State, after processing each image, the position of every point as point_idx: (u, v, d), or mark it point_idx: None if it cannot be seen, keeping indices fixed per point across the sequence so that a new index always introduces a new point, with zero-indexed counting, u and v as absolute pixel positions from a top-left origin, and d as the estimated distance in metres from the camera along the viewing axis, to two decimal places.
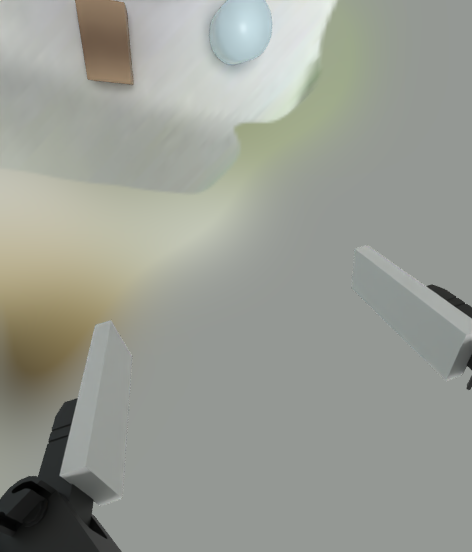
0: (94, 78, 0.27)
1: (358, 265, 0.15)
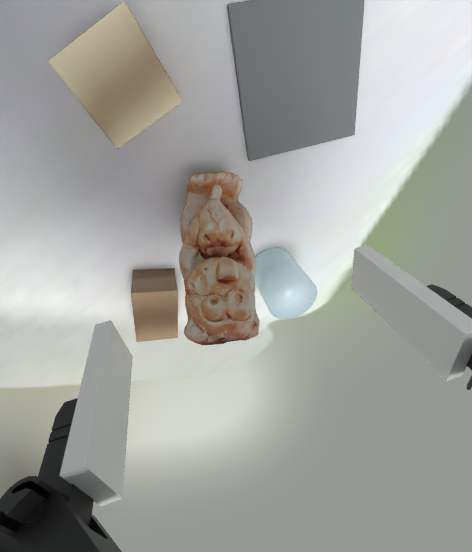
0: (143, 340, 0.28)
1: (358, 265, 0.15)
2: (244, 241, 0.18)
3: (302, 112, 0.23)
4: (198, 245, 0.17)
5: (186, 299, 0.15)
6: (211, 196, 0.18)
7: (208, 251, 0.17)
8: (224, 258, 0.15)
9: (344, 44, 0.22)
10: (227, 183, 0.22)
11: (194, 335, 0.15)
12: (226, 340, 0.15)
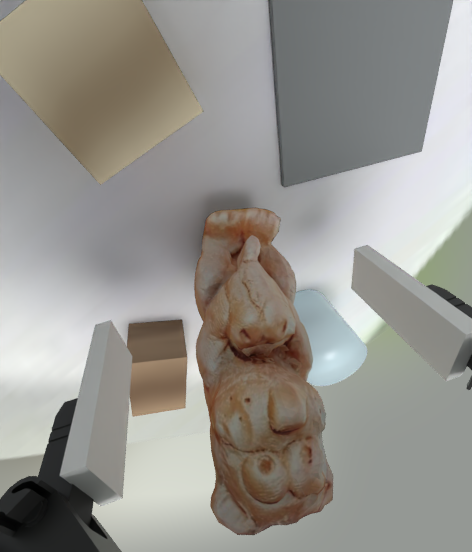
0: (141, 414, 0.22)
1: (358, 265, 0.15)
2: (298, 328, 0.11)
3: (359, 122, 0.17)
4: (228, 337, 0.11)
5: (213, 445, 0.09)
6: (246, 256, 0.12)
7: (244, 350, 0.11)
8: (280, 384, 0.09)
9: (425, 28, 0.15)
10: (260, 224, 0.15)
11: (230, 520, 0.09)
12: None
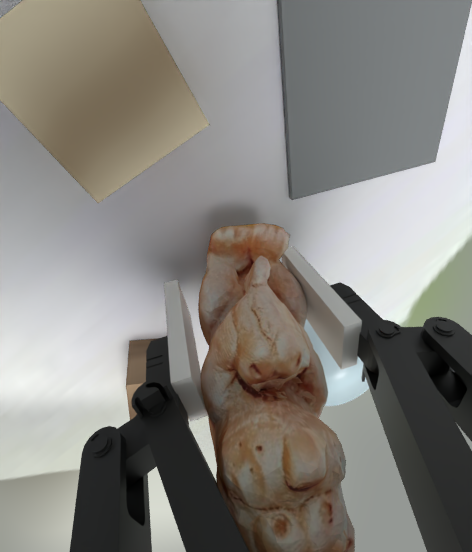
0: None
1: (284, 265, 0.16)
2: (312, 359, 0.10)
3: (370, 132, 0.16)
4: (235, 370, 0.10)
5: None
6: (255, 279, 0.11)
7: (253, 386, 0.10)
8: (296, 431, 0.08)
9: (441, 34, 0.14)
10: (268, 240, 0.14)
11: None
12: None
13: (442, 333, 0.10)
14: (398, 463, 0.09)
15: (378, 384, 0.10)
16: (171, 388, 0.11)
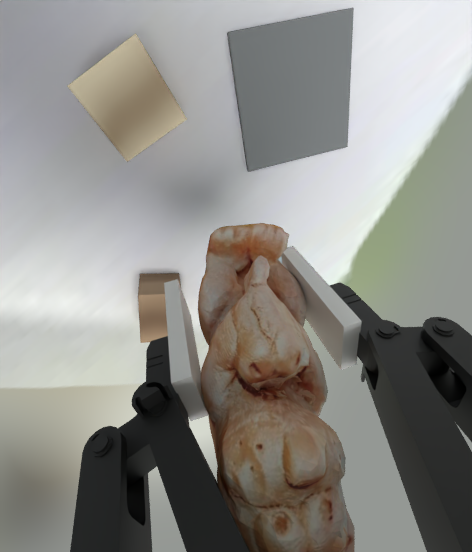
0: (146, 341, 0.29)
1: (284, 265, 0.16)
2: (312, 358, 0.10)
3: (297, 126, 0.25)
4: (235, 369, 0.10)
5: None
6: (254, 279, 0.11)
7: (254, 384, 0.10)
8: (296, 429, 0.08)
9: (335, 65, 0.23)
10: (267, 240, 0.14)
11: None
12: None
13: (442, 333, 0.10)
14: (398, 463, 0.09)
15: (378, 384, 0.10)
16: (171, 388, 0.11)
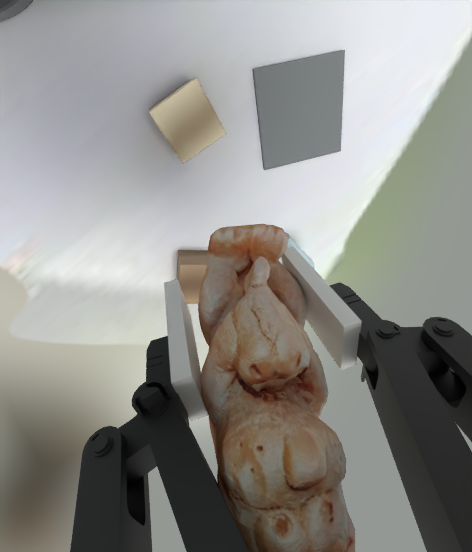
0: None
1: (284, 265, 0.16)
2: (312, 359, 0.10)
3: (302, 136, 0.33)
4: (236, 370, 0.10)
5: None
6: (255, 280, 0.11)
7: (254, 386, 0.10)
8: (297, 431, 0.08)
9: (331, 90, 0.31)
10: (267, 241, 0.14)
11: None
12: None
13: (442, 333, 0.10)
14: (398, 463, 0.09)
15: (378, 384, 0.10)
16: (171, 388, 0.11)
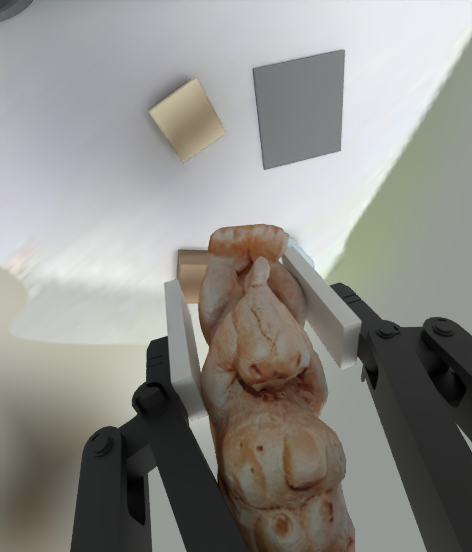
0: None
1: (284, 265, 0.16)
2: (312, 359, 0.10)
3: (302, 135, 0.33)
4: (236, 370, 0.10)
5: None
6: (255, 280, 0.11)
7: (254, 386, 0.10)
8: (297, 431, 0.08)
9: (331, 90, 0.31)
10: (267, 241, 0.14)
11: None
12: None
13: (442, 333, 0.10)
14: (398, 463, 0.09)
15: (378, 384, 0.10)
16: (171, 388, 0.11)
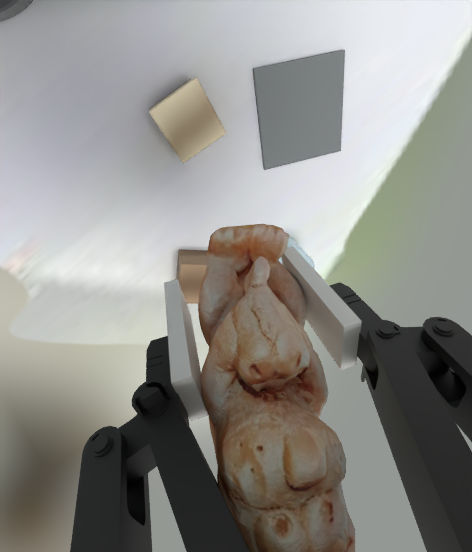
0: None
1: (284, 265, 0.16)
2: (312, 359, 0.10)
3: (302, 135, 0.33)
4: (236, 370, 0.10)
5: None
6: (255, 280, 0.11)
7: (254, 386, 0.10)
8: (297, 431, 0.08)
9: (331, 90, 0.31)
10: (267, 241, 0.14)
11: None
12: None
13: (442, 333, 0.10)
14: (398, 463, 0.09)
15: (378, 384, 0.10)
16: (171, 388, 0.11)
